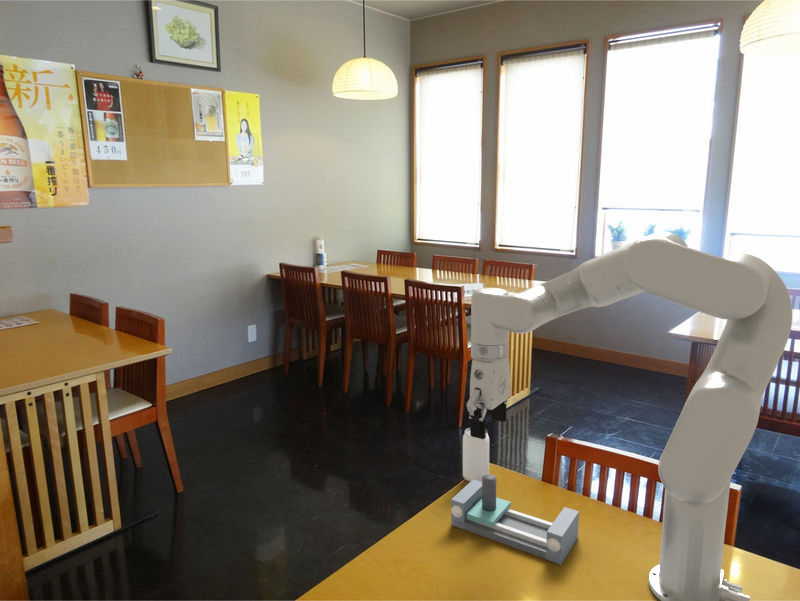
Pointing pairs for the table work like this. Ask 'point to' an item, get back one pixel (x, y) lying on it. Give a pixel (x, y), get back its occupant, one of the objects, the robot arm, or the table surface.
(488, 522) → the carriage
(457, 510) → the rail track
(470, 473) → the can
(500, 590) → the table surface
